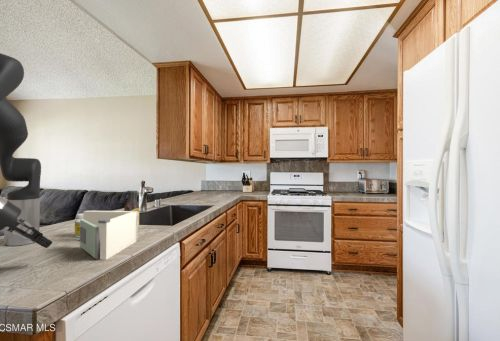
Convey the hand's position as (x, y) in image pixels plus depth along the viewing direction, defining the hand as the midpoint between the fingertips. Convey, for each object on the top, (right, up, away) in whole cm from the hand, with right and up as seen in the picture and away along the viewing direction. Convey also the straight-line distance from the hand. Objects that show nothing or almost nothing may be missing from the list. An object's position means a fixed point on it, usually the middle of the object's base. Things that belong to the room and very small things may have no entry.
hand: (48, 244), depth 71 cm
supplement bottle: (-12, -6, +31) cm, 33 cm away
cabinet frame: (+4, -6, +14) cm, 16 cm away
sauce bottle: (+8, -6, +33) cm, 35 cm away
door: (+5, -6, +10) cm, 12 cm away
